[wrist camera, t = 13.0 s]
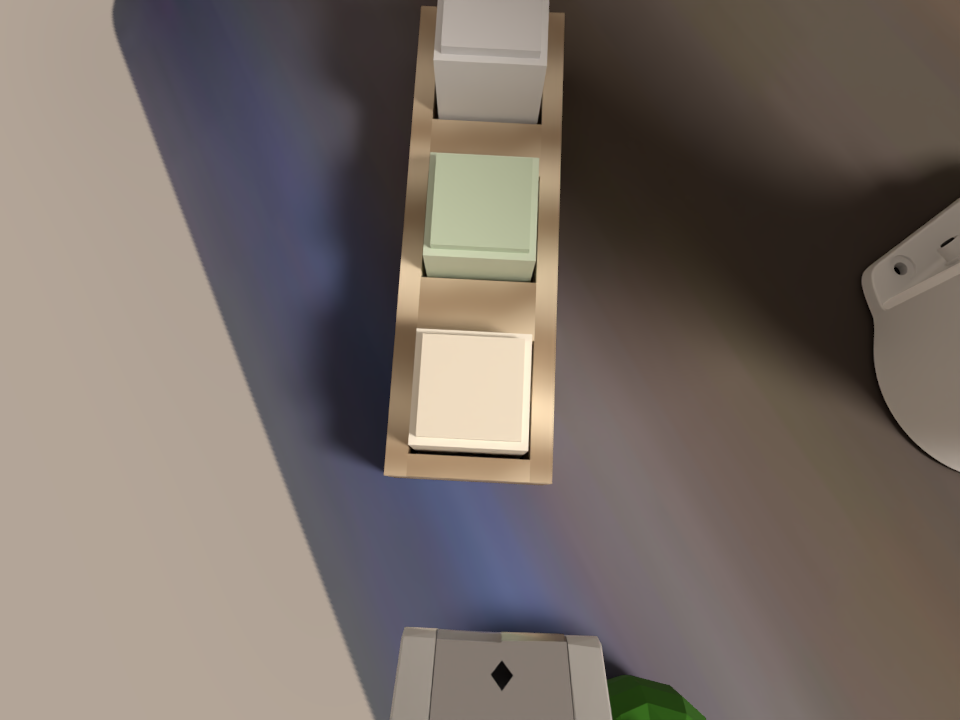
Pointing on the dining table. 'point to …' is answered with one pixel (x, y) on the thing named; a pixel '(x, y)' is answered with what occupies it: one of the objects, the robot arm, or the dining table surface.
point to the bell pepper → (647, 701)
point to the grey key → (491, 59)
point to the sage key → (481, 217)
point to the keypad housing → (479, 299)
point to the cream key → (471, 393)
